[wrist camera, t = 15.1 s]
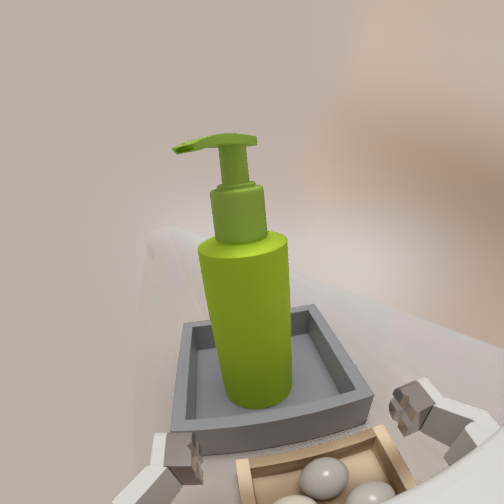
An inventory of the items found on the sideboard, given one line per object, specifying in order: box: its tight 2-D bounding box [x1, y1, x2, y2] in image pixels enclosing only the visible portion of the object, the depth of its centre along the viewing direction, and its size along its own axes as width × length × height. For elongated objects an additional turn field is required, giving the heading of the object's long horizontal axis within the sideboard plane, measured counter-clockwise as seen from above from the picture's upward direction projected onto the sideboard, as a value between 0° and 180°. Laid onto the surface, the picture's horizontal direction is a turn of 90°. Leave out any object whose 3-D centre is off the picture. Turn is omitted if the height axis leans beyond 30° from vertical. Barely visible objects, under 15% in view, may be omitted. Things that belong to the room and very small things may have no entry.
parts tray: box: [236, 424, 418, 504], centre depth 11 cm, size 8×10×2 cm
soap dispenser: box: [172, 133, 292, 409], centre depth 19 cm, size 6×7×20 cm
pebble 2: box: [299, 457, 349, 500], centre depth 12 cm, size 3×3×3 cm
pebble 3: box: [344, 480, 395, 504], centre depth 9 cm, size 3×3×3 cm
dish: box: [170, 304, 374, 455], centre depth 23 cm, size 14×14×4 cm
